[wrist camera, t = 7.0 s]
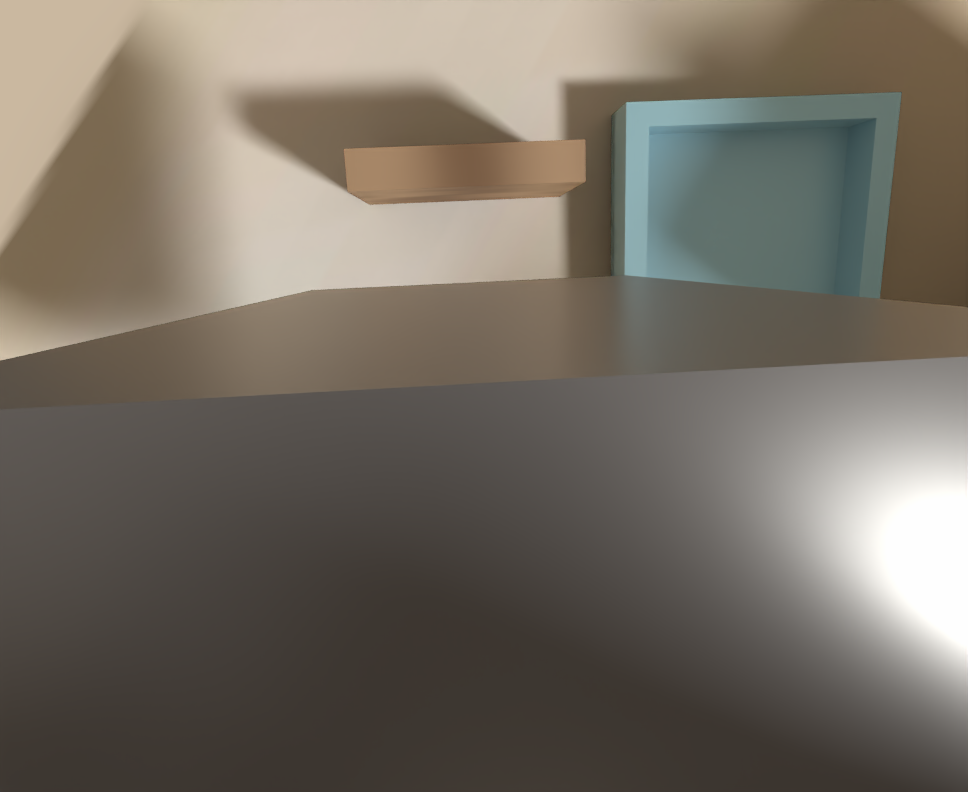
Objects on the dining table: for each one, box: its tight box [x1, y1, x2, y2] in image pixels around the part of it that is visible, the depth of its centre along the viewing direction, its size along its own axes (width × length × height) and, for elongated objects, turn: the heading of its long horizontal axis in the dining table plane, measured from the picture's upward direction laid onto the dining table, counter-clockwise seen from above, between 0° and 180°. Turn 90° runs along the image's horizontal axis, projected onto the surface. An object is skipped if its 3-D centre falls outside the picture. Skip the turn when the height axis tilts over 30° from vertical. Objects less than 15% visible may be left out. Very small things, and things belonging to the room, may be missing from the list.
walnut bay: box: [344, 139, 586, 205], centre depth 28 cm, size 9×21×6 cm, turn 3°
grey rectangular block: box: [0, 275, 968, 792], centre depth 9 cm, size 7×12×11 cm, turn 3°
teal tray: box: [611, 92, 902, 299], centre depth 29 cm, size 12×17×2 cm
